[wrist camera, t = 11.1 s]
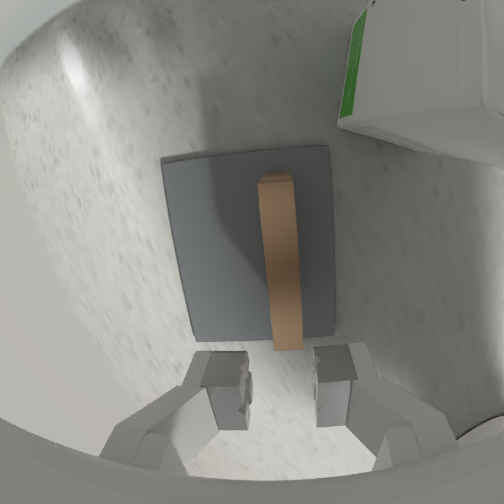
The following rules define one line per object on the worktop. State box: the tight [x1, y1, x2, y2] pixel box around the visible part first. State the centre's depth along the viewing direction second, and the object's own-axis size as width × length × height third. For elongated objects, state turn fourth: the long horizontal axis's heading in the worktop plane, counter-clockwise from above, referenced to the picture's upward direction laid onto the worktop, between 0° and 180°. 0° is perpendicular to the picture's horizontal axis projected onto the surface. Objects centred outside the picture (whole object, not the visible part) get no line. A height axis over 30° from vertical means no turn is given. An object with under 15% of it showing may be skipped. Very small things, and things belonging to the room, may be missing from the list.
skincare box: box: [337, 0, 504, 168], centre depth 9 cm, size 8×7×16 cm
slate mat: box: [162, 145, 335, 342], centre depth 21 cm, size 14×11×1 cm
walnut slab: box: [257, 172, 303, 351], centre depth 18 cm, size 9×2×6 cm, turn 6°
